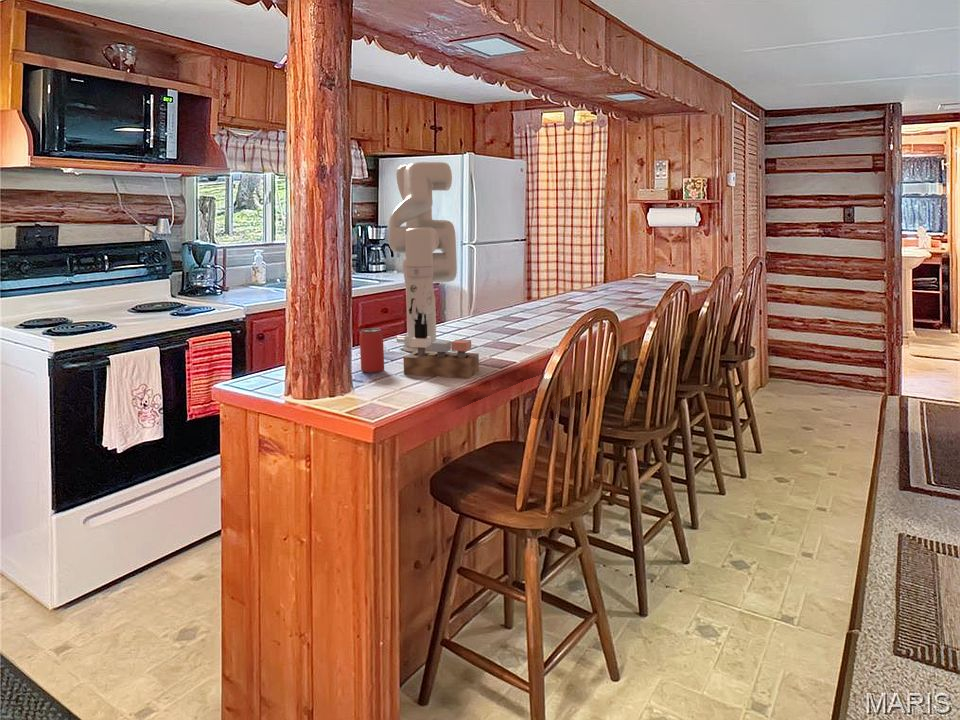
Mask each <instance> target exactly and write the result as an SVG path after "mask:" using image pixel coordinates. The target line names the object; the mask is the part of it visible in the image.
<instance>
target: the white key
mask: <svg viewBox="0 0 960 720" xmlns="http://www.w3.org/2000/svg"><path fill="white" fill-rule="evenodd" d="M430 345H431V337H429V336H427V338H415V337H413V338H411V347H418V356H425V348H426V347H428V346H430Z"/></svg>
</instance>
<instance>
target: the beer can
mask: <svg viewBox="0 0 960 720" xmlns="http://www.w3.org/2000/svg"><path fill="white" fill-rule="evenodd" d="M359 349H360V350H359V352H360V353H359V354H360V368H361V369H360V370H361V371H362V373H363V372H364V373H365V372H367V373H366V374H376V373H377V372H378V373H381V372H383V371H384V370H385V356H384V355H385V353H384V352H385V351H384V336H383V333H382V330H381V328H377V327H375V328H374V327H373V328H372V327H371V328H370V327H369V328H363V329H361V332H360V336H359ZM378 373H377V374H378Z"/></svg>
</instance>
